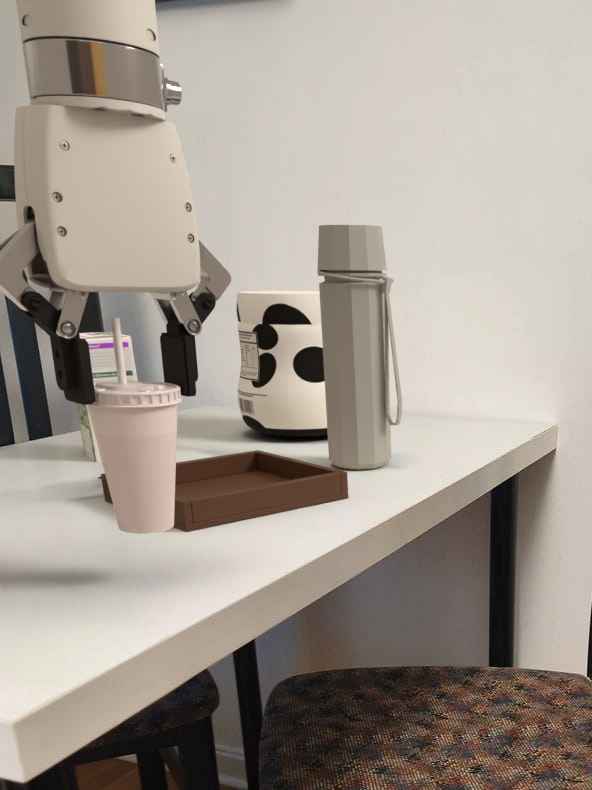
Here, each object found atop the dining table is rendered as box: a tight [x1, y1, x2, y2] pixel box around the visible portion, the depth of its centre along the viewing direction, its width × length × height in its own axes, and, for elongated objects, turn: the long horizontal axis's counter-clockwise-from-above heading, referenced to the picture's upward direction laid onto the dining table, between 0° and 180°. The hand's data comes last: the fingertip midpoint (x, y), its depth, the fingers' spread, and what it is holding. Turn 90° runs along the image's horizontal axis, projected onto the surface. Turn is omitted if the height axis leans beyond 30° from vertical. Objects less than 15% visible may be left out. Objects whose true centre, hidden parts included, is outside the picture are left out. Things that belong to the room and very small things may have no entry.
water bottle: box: [316, 224, 403, 471], centre depth 97 cm, size 9×8×25 cm
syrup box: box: [75, 331, 139, 479], centre depth 95 cm, size 6×6×14 cm
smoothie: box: [87, 317, 183, 535], centre depth 61 cm, size 6×6×14 cm
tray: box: [100, 449, 349, 532], centre depth 87 cm, size 18×16×3 cm
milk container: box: [236, 290, 328, 438], centre depth 119 cm, size 17×17×18 cm
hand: (132, 395), depth 60 cm, fingers closed on smoothie, 6 cm apart
